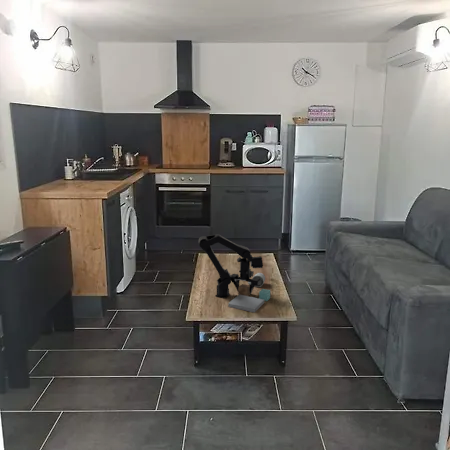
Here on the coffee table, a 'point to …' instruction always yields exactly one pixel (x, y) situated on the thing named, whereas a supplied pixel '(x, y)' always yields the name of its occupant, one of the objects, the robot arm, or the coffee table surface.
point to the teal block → (264, 294)
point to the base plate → (246, 303)
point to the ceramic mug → (262, 278)
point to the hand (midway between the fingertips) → (244, 292)
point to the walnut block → (244, 290)
